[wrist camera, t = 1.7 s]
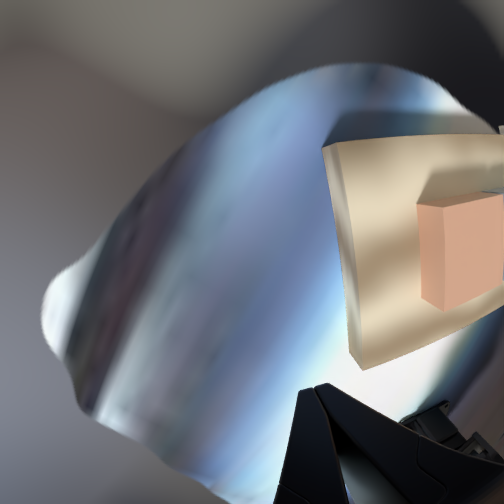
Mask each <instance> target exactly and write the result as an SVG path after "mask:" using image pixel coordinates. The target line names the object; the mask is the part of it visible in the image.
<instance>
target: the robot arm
mask: <svg viewBox="0 0 504 504" xmlns="http://www.w3.org/2000/svg"><path fill="white" fill-rule="evenodd" d="M449 406H450V402H449V401H448V400H446V401H444V402H442V403H440V404H438V405H436V406H435V407H433V408H431V409H429V410H427V411H425V412H423V413H421V414H419V415H417V416H415V417H413V418H411V419H408V420H406V421H404V422H402V423H400V424H399V423H397V422H396V421H394V420H392V419H390V418H388V417H386V416H385V415H383V414H381V413H379V412H377V411H376V410H374V409H372V408H370V407H369V406H367V405H365V404H363V403H362V402H360V401H358V400H356V399H355V398H353V397H351V396H350V395H348V394H346V393H345V392H343V391H341V390H340V389H338V388H336V387H335V386H333V385H331V384H330V383H325V384H321V385H318V386H315V387H314V388H312V387H311V388H307V389H303V390H300V391H299V392H298V397H297V402H296V407H295V412H294V417H293V422H292V427H291V432H290V437H289V441H288V446H287V451H286V455H285V459H284V464H283V468H282V472H281V476H280V480H279V485H278V488H277V492H276V495H275V499H274V502H273V504H349V501H348V496H347V492H346V487H345V484H346V486H347V488H348V490H349V492H350V494H351V496H352V498H353V500H354V502H355V504H504V460H503V458H502V457H501V456H500V455H499V454H498V453H497V452H496V451H495V450H494V449H493V448H492V447H491V446H490V445H489V444H488V443H487V442H486V441H485V440H484V439H483V438H482V437H481V436H480V435H479V434H478V433H477V432H475V433H474V434H473V435H472V437H471V438H469V439H468V440H467V441H466V439H465V438H464V437H463V436H462V435H461V434H460V432H459V431H458V429H457V428H456V426H455V425H454V424H453V423H452V422H451V421H450V420H449V419H448V417H447V413H448V409H449ZM481 450H482V452H481V453H480V454H478V452H479V451H481ZM344 482H345V483H344Z"/></svg>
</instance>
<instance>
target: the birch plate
mask: <svg viewBox="0 0 504 504" xmlns="http://www.w3.org/2000/svg"><path fill="white" fill-rule="evenodd" d="M322 153H323V158H324V163H325V168H326V173H327V178H328V183H329V189H330V194H331V200H332V206H333V212H334V218H335V224H336V231H337V238H338V245H339V252H340V260H341V267H342V276H343V285H344V294H345V304H346V314H347V326H348V340H349V353H350V354H351V355H352V357H353V358H354V359H355V361H356V362H357V364H358V365H359V366H360V368H361V369H362V370H363V371H364V370H367V369H369V368H372V367H375V366H378V365H380V364H383V363H386V362H388V361H391V360H393V359H396V358H398V357H401V356H403V355H406V354H408V353H410V352H413V351H415V350H417V349H420V348H422V347H424V346H426V345H429V344H431V343H433V342H435V341H437V340H440V339H442V338H444V337H446V336H448V335H450V334H452V333H454V332H456V331H458V330H460V329H462V328H464V327H466V326H468V325H470V324H471V323H473V322H475V321H477V320H479V319H481V318H482V317H484V316H486V315H488V314H489V313H491V312H493V311H495V310H496V309H498V308H500V307H501V306H503V305H504V281H503V280H502V284H501V285H499V286H497V287H495V288H493V289H491V290H489V291H487V292H486V293H484V294H482V295H480V296H478V297H476V298H473V299H471V300H469V301H467V302H465V303H463V304H461V305H459V306H457V307H454V308H452V309H450V310H448V311H446V312H443V311H441V310H440V309H438V308H436V307H435V306H433V305H432V304H430V303H428V302H427V301H425V300H424V299H422V298H421V260H420V241H419V227H418V216H417V207H416V204H418V203H423V202H428V201H433V200H438V199H443V198H448V197H454V196H459V195H464V194H469V193H474V192H482V191H484V190H490V189H495V188H500V187H504V135H499V134H436V135H414V136H398V137H385V138H374V139H364V140H354V141H345V142H337V143H334V144H331V145H329V146H326V147H323V148H322Z"/></svg>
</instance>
